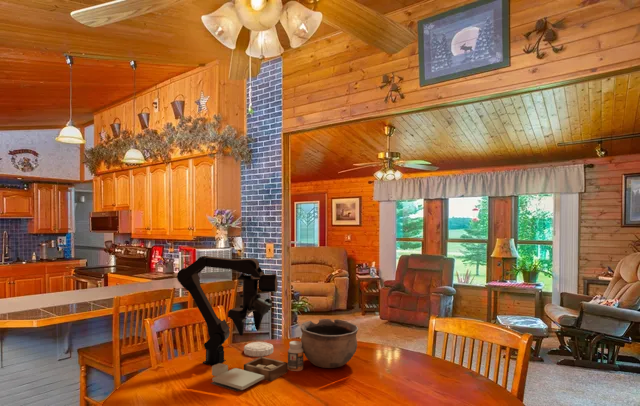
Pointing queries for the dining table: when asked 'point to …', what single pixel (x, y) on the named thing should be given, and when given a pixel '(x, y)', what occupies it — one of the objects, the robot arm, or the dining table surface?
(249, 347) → the mooncake
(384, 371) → the dining table surface
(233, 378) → the lid
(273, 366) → the block
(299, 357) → the pill bottle
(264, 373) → the tub
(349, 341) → the ceramic bowl
